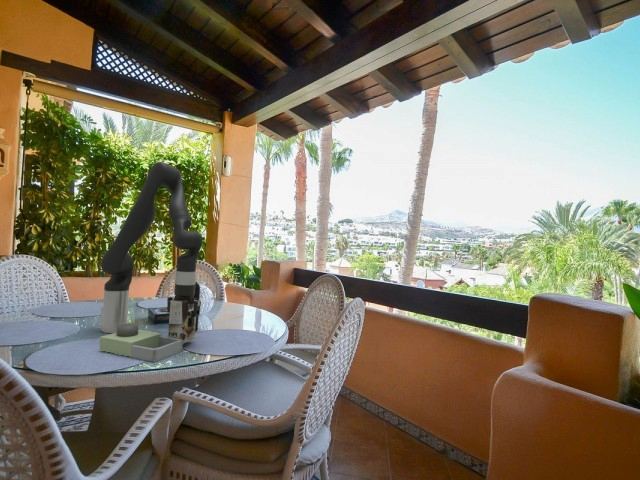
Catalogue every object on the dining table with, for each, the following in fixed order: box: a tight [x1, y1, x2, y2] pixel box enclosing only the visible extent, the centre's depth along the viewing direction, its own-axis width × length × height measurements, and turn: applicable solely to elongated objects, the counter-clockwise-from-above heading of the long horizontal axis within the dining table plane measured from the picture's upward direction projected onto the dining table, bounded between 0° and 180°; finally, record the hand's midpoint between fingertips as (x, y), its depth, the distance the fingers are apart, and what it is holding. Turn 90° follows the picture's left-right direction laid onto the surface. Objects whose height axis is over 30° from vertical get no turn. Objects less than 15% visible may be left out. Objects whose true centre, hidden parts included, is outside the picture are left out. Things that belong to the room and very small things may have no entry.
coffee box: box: [167, 298, 197, 345], centre depth 144 cm, size 9×6×16 cm
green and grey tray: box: [99, 323, 184, 363], centre depth 134 cm, size 24×14×8 cm, turn 71°
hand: (182, 325), depth 144 cm, fingers closed on coffee box, 7 cm apart
